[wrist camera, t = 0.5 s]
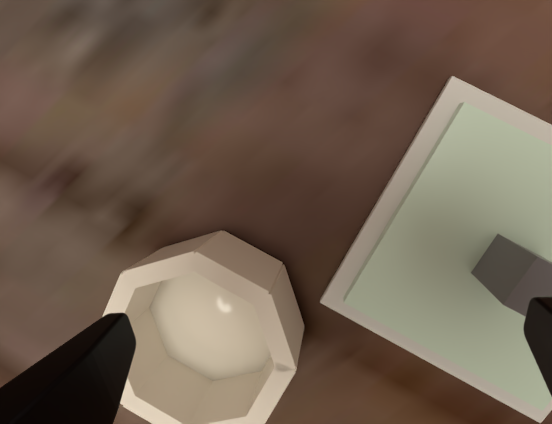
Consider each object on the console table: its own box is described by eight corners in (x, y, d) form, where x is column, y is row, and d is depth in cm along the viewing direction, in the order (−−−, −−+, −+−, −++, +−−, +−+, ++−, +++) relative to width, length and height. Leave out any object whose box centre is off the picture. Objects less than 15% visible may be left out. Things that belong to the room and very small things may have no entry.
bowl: (328, 283, 23) (325, 322, 18) (255, 408, 25) (235, 472, 20) (183, 205, 23) (142, 222, 19) (125, 334, 26) (75, 378, 21)
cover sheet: (684, 215, 18) (801, 240, 14) (535, 401, 21) (589, 473, 17) (459, 103, 19) (497, 91, 15) (343, 296, 22) (344, 338, 17)
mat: (706, 205, 19) (718, 207, 18) (535, 416, 22) (540, 423, 21) (449, 77, 20) (452, 75, 19) (320, 298, 23) (319, 302, 22)
